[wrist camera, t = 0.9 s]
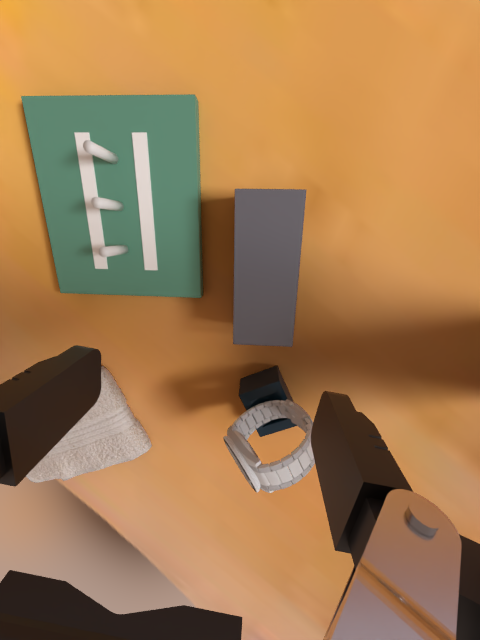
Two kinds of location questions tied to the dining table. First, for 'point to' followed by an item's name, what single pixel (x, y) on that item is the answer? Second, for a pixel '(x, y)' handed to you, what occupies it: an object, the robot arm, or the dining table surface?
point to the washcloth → (96, 438)
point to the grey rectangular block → (266, 264)
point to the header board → (120, 191)
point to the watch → (269, 431)
